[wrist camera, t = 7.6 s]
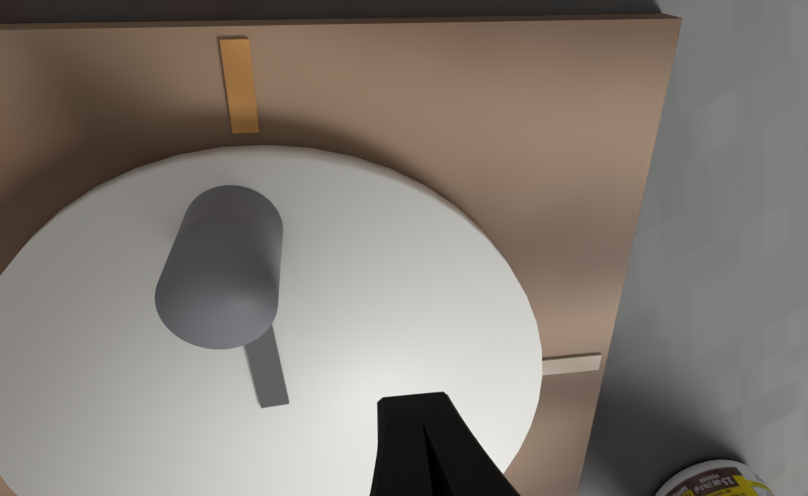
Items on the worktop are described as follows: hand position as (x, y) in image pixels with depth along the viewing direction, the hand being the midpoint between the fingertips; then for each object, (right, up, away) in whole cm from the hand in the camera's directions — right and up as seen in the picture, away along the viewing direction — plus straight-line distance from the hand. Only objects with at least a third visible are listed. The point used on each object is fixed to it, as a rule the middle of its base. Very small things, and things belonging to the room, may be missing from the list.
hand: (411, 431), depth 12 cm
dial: (-4, -1, +8) cm, 10 cm away
